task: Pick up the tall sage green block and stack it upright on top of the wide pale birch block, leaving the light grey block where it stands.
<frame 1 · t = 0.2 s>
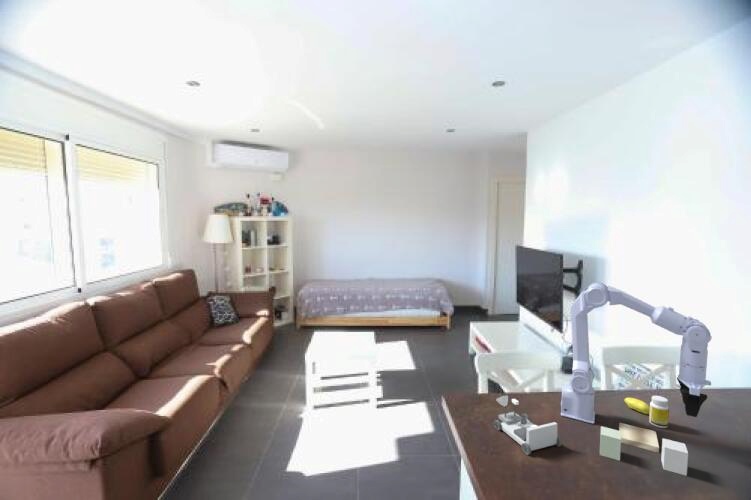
hand: (689, 409, 104), 10 cm above the table, tool pointing down, fingers open, 7 cm apart
toy car: (522, 435, 110), on the table
lemon: (637, 410, 123), on the table
sage block: (609, 453, 100), on the table
grey block: (673, 467, 95), on the table
birch block: (637, 440, 107), on the table
supplement bottle: (658, 424, 115), on the table
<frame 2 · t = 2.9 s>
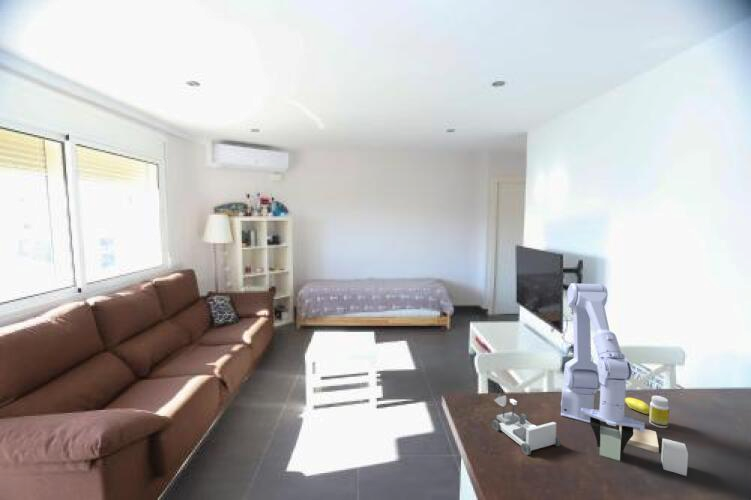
hand: (609, 448, 100), 1 cm above the table, tool pointing down, fingers closed on sage block, 5 cm apart
sage block: (609, 453, 100), on the table, touching gripper
everything else where it was.
when the fingers open (5 cm above the table, at t = 8.6 s): sage block drops 2 cm, resting on birch block.
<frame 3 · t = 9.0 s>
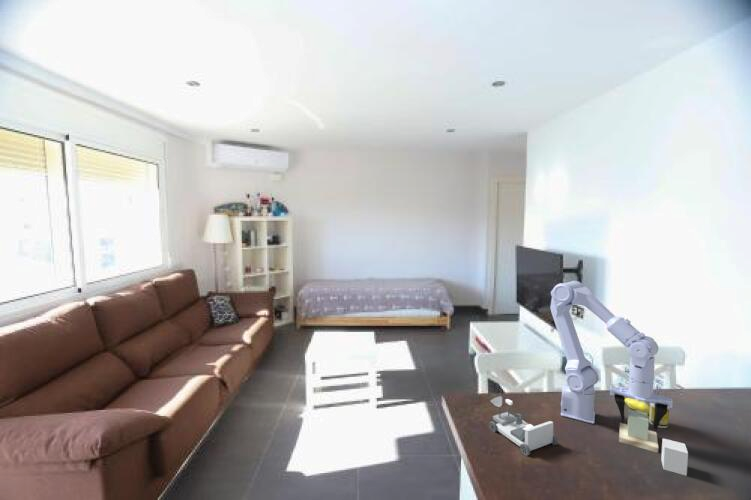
hand: (638, 424, 106), 5 cm above the table, tool pointing down, fingers open, 7 cm apart
sage block: (636, 434, 107), point 1 cm above the table, touching birch block
birch block: (637, 441, 107), on the table, touching sage block
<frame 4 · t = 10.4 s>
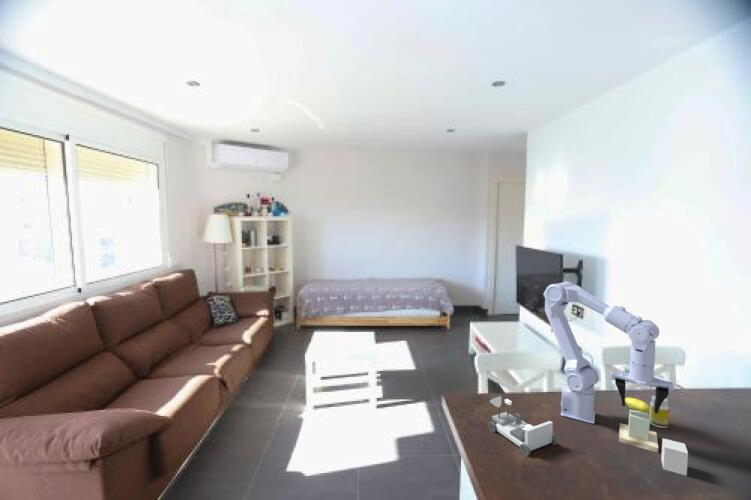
hand: (639, 408, 106), 9 cm above the table, tool pointing down, fingers open, 7 cm apart
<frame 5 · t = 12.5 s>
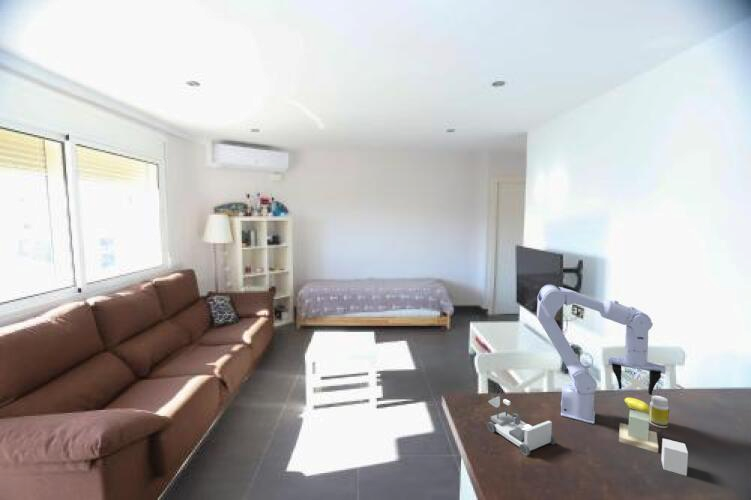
hand: (634, 390, 115), 10 cm above the table, tool pointing down, fingers open, 7 cm apart
sage block: (637, 434, 107), point 1 cm above the table
birch block: (637, 441, 107), on the table
at the end: sage block 0.1 cm off-centre on the birch block, point 2.0 cm above the birch block's base; sage block tilted 1°; the gripper is holding nothing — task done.
